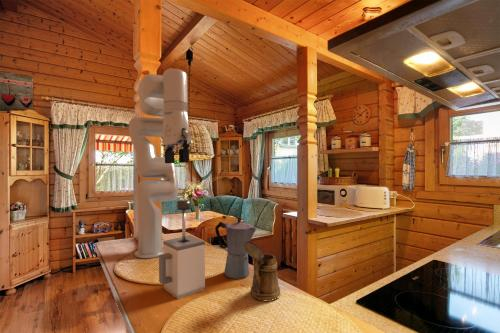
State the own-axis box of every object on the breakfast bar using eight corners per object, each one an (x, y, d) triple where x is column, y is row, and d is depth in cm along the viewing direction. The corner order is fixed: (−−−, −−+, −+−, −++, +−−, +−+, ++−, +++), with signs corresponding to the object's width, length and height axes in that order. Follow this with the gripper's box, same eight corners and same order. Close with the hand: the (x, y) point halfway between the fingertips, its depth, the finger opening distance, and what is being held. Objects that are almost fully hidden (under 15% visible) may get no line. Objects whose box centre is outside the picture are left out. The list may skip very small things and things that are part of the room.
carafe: (154, 291, 86) (154, 242, 85) (189, 280, 94) (189, 235, 94) (168, 302, 79) (167, 249, 79) (205, 289, 87) (204, 241, 87)
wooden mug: (235, 302, 79) (235, 238, 78) (260, 285, 90) (260, 229, 90) (262, 312, 74) (262, 244, 74) (285, 292, 85) (285, 233, 85)
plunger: (170, 251, 87) (170, 200, 87) (187, 247, 91) (187, 199, 91) (179, 256, 83) (179, 202, 83) (197, 251, 87) (197, 200, 87)
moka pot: (254, 281, 92) (254, 221, 92) (210, 278, 95) (209, 219, 95) (259, 270, 102) (259, 215, 101) (218, 267, 105) (218, 214, 104)
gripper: (153, 112, 94) (154, 163, 94) (177, 102, 81) (178, 162, 81) (174, 115, 99) (174, 163, 99) (200, 106, 86) (201, 162, 86)
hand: (176, 162), depth 90 cm, fingers open, 9 cm apart
